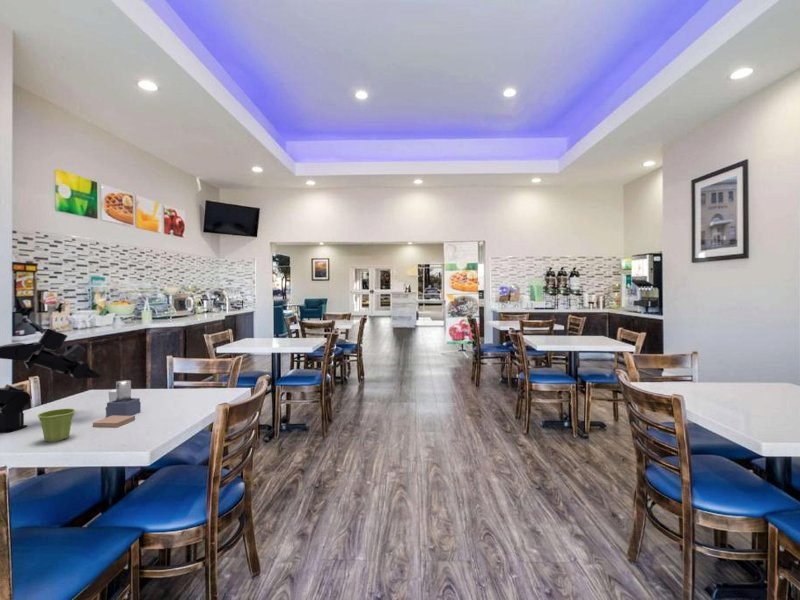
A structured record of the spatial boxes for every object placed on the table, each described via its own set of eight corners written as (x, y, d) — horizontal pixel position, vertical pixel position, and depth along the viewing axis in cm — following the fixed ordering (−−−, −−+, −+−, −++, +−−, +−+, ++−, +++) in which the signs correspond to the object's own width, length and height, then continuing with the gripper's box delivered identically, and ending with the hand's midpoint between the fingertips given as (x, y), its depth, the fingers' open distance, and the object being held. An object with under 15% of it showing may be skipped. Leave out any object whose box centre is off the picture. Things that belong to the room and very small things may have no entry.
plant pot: (73, 440, 131) (73, 413, 131) (34, 446, 126) (34, 418, 126) (77, 432, 139) (77, 407, 139) (41, 437, 134) (40, 411, 134)
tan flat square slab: (116, 427, 144) (116, 423, 144) (92, 426, 145) (92, 422, 145) (135, 419, 153) (134, 415, 153) (112, 419, 154) (112, 415, 154)
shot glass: (116, 409, 167) (115, 392, 167) (104, 408, 170) (104, 391, 170) (131, 405, 174) (131, 388, 174) (120, 403, 176) (120, 387, 176)
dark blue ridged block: (125, 417, 156) (125, 403, 156) (106, 417, 156) (106, 402, 156) (140, 411, 164) (140, 398, 164) (121, 411, 164) (121, 397, 164)
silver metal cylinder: (125, 406, 158) (124, 382, 157) (113, 405, 158) (113, 382, 158) (133, 402, 162) (133, 380, 162) (122, 402, 163) (122, 380, 163)
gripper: (72, 342, 148) (116, 358, 159) (56, 339, 159) (98, 354, 170) (54, 371, 144) (100, 385, 155) (39, 366, 155) (83, 379, 166)
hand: (96, 375), depth 162 cm, fingers open, 9 cm apart
